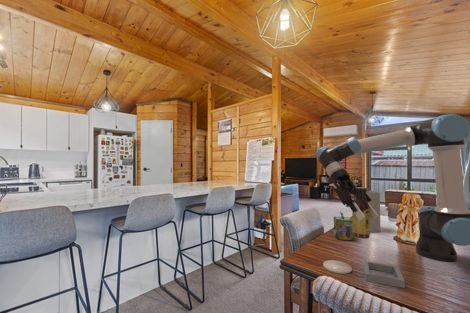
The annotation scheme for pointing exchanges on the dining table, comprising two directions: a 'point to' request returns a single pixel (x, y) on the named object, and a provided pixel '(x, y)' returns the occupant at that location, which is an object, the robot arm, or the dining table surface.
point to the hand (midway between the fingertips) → (368, 218)
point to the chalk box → (343, 228)
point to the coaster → (337, 267)
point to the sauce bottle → (363, 227)
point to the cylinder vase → (376, 206)
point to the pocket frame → (383, 279)
